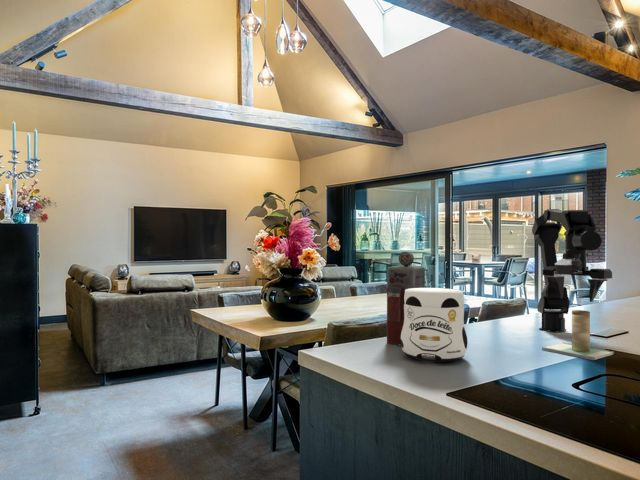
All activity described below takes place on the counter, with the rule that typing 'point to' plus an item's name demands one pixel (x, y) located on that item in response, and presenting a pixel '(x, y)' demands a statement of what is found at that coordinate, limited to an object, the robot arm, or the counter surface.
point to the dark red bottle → (400, 293)
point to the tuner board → (567, 350)
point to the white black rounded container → (434, 324)
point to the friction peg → (580, 331)
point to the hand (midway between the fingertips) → (575, 300)
